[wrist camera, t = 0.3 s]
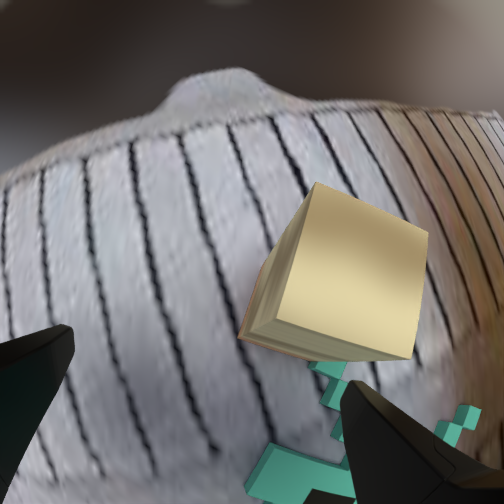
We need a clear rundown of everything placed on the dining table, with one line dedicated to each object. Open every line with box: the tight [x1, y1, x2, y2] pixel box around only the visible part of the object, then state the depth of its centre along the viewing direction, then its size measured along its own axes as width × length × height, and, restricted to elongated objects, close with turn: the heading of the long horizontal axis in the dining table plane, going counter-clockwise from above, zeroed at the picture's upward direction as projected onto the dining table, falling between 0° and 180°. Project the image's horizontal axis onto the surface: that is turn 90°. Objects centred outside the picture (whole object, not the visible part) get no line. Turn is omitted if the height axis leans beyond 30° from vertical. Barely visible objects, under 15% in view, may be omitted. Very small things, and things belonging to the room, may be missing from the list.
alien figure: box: [244, 361, 481, 504], centre depth 19 cm, size 20×2×20 cm
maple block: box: [238, 182, 428, 362], centre depth 18 cm, size 6×6×13 cm
